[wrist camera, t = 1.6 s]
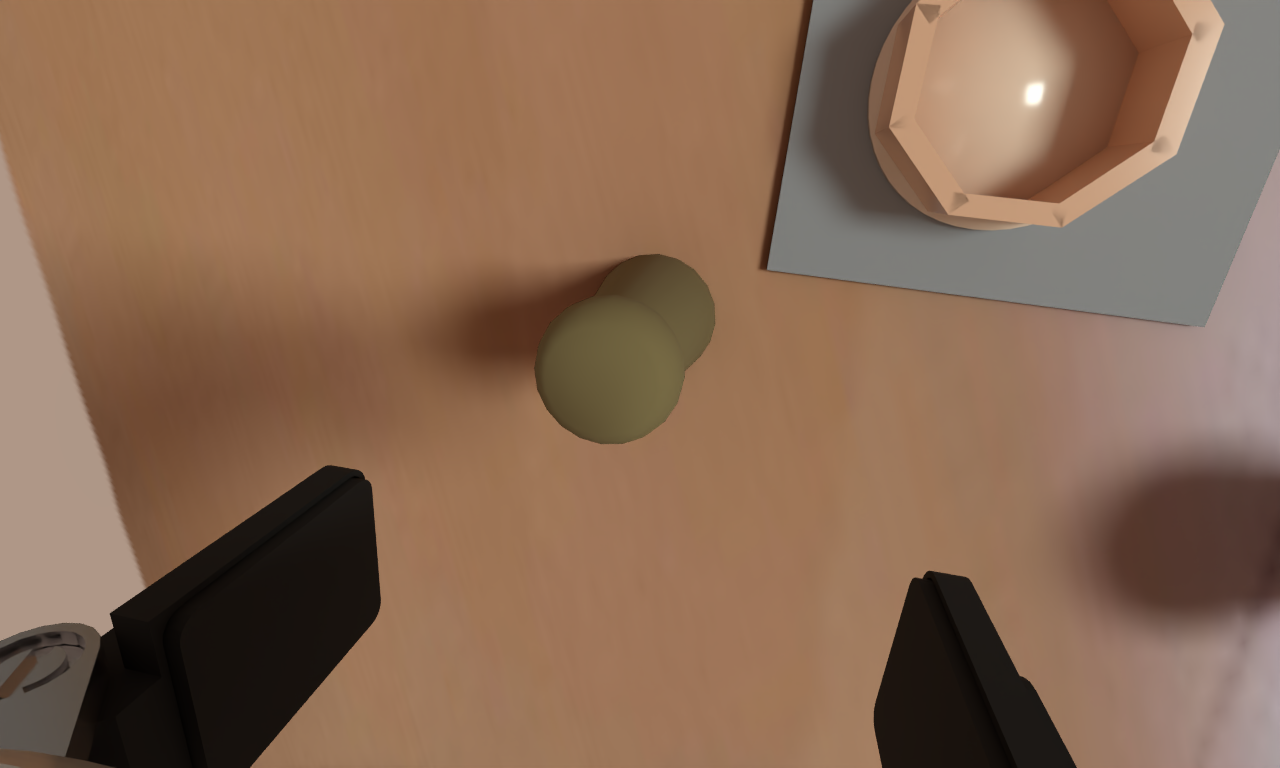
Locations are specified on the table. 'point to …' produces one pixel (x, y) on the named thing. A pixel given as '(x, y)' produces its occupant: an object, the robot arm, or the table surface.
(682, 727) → the table surface
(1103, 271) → the felt mat
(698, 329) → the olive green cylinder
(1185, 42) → the peach octagonal bowl
